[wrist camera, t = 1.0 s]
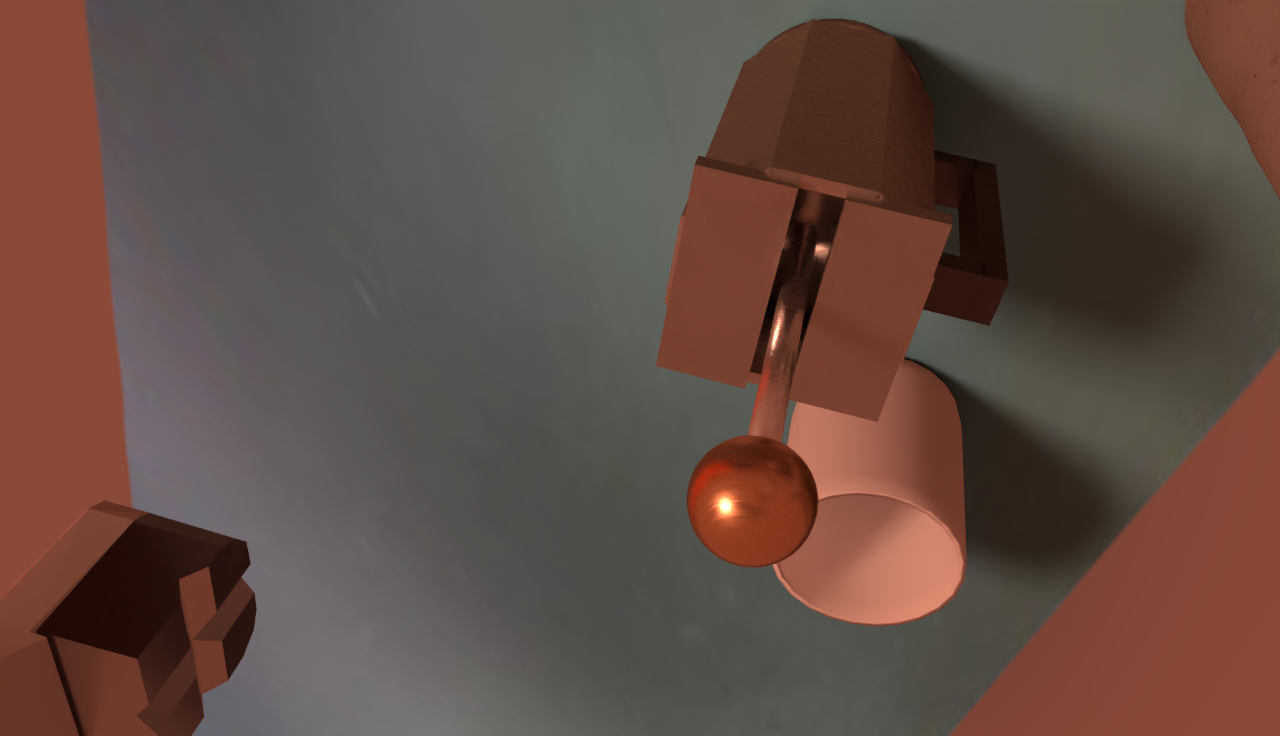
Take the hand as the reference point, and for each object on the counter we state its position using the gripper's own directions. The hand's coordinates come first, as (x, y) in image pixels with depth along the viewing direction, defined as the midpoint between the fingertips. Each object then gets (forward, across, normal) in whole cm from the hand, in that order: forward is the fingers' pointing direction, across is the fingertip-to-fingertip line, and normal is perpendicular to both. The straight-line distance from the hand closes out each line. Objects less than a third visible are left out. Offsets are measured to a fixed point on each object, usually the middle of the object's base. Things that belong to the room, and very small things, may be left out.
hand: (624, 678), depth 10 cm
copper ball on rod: (+30, -2, +10) cm, 32 cm away
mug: (+43, -8, +29) cm, 52 cm away
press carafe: (+42, -3, +10) cm, 43 cm away
